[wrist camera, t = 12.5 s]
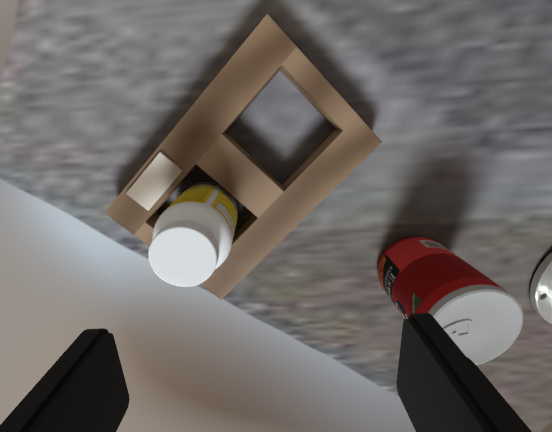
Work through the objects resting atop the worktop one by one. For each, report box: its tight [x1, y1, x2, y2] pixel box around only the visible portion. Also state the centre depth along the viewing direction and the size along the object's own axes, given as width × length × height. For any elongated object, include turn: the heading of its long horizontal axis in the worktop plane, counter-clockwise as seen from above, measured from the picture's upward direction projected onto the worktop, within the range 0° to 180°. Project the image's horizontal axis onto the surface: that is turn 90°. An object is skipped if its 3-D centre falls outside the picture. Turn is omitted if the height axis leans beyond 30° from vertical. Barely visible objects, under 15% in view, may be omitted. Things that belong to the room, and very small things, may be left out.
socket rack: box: [105, 14, 382, 299], centre depth 28 cm, size 14×22×3 cm, turn 136°
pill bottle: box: [148, 182, 238, 287], centre depth 25 cm, size 6×6×11 cm
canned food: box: [378, 237, 523, 365], centre depth 29 cm, size 8×8×11 cm
